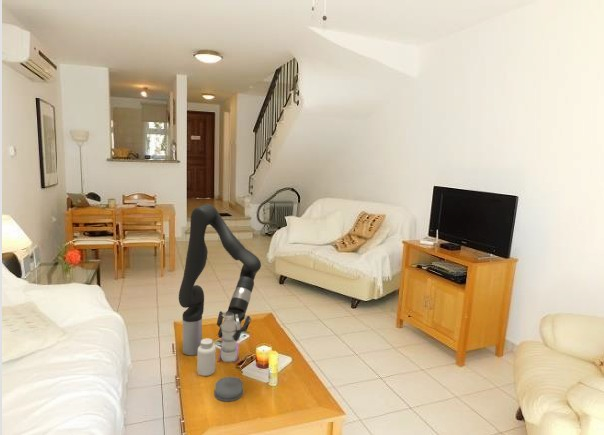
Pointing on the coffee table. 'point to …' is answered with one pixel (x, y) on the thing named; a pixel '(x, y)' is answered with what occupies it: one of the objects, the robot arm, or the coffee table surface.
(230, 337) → the plastic bottle
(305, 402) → the coffee table surface
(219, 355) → the toy chair
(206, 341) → the pill bottle
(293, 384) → the coffee table surface
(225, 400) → the slate plinth
